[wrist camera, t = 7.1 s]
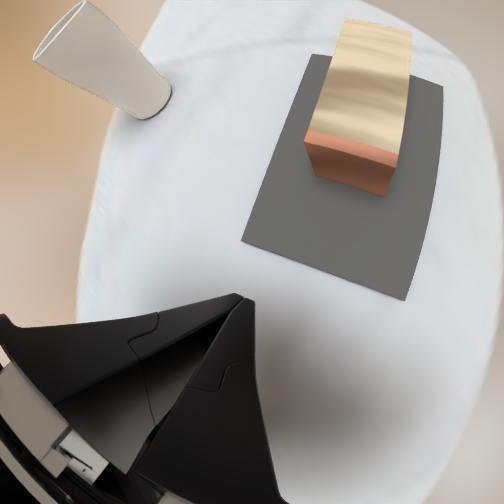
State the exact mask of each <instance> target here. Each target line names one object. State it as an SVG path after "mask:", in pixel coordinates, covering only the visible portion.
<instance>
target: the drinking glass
mask: <svg viewBox="0 0 504 504" xmlns="http://www.w3.org/2000/svg"><path fill="white" fill-rule="evenodd" d="M32 60H33V61H34V62H36V63H37V64H39V65H40V66H41V67H43V68H44V69H46V70H48V71H50V72H51V73H53V74H54V75H56V76H58V77H59V78H61V79H63V80H65V81H67V82H69V83H71V84H73V85H75V86H78V87H80V88H82V89H84V90H86V91H88V92H90V93H92V94H94V95H96V96H98V97H100V98H102V99H104V100H106V101H108V102H110V103H112V104H113V105H115V106H117V107H119V108H121V109H123V110H124V111H126V112H127V113H129V114H130V115H132V116H133V117H135V118H137V119H146V118H149V117H151V116H153V115H155V114H156V113H157V112H159V111H160V110H161V109H162V108H163V106H164V105H165V104H166V102H167V101H168V99H169V97H170V93H171V86H170V84H169V82H168V81H167V80H166V79H165V78H164V77H163V76H162V75H161V74H160V73H159V72H158V71H157V70H156V69H155V67H154V66H153V65H152V64H151V63H150V62H149V61H148V59H147V58H146V57H145V56H144V55H143V54H142V53H141V51H140V50H139V49H138V48H137V47H136V46H135V45H134V43H132V41H131V40H130V39H129V38H128V37H127V36H126V34H125V33H124V32H123V31H122V30H121V29H120V28H119V27H118V26H117V25H116V24H115V23H114V22H113V21H112V20H111V19H110V18H109V17H108V16H107V15H106V14H105V13H103V12H102V11H101V10H99V9H98V8H97V7H95V6H94V5H93V4H91V3H90V2H88V1H87V0H83V1H81V2H80V3H78V4H77V5H75V6H74V7H73V8H72V9H71V10H70V11H68V12H67V13H66V14H65V15H64V16H63V17H62V18H61V19H60V20H59V21H58V22H57V24H56V25H55V26H54V27H53V28H52V29H51V30H50V32H49V33H48V34H47V35H46V37H45V38H44V39H43V41H42V42H41V44H40V45H39V47H38V48H37V50H36V51H35V53H34V55H33V58H32Z"/></svg>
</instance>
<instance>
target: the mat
mask: <svg viewBox="0 0 504 504" xmlns="http://www.w3.org/2000/svg"><path fill="white" fill-rule="evenodd" d="M331 60H332V56H325V55H318V54H312V55H311V58H310V60H309V63H308V65H307V68H306V70H305V73H304V75H303V78H302V80H301V83H300V85H299V88H298V91H297V93H296V96H295V98H294V101H293V103H292V106H291V109H290V111H289V114H288V116H287V119H286V121H285V124H284V127H283V129H282V132H281V135H280V137H279V140H278V142H277V145H276V148H275V150H274V153H273V156H272V158H271V161H270V164H269V166H268V169H267V172H266V174H265V177H264V180H263V182H262V185H261V188H260V190H259V193H258V196H257V198H256V201H255V204H254V206H253V209H252V212H251V215H250V217H249V220H248V223H247V226H246V228H245V231H244V234H243V236H242V239H241V241H243V242H246V243H248V244H251V245H254V246H257V247H259V248H262V249H265V250H268V251H270V252H273V253H276V254H279V255H281V256H284V257H287V258H290V259H292V260H295V261H298V262H301V263H303V264H306V265H309V266H312V267H314V268H317V269H320V270H322V271H325V272H328V273H331V274H333V275H336V276H339V277H341V278H344V279H347V280H350V281H352V282H355V283H358V284H360V285H363V286H366V287H369V288H371V289H374V290H377V291H379V292H382V293H385V294H387V295H390V296H393V297H395V298H398V299H401V300H403V301H405V299H406V296H407V293H408V291H409V288H410V285H411V282H412V279H413V275H414V272H415V269H416V266H417V262H418V259H419V256H420V252H421V248H422V245H423V241H424V237H425V233H426V229H427V225H428V220H429V216H430V211H431V206H432V201H433V196H434V190H435V185H436V178H437V172H438V164H439V156H440V147H441V136H442V121H443V86H440V85H438V84H435V83H432V82H430V81H427V80H424V79H421V78H418V77H415V76H412V75H410V77H409V88H408V97H407V105H406V113H405V120H404V126H403V133H402V139H401V144H400V150H399V155H398V160H397V165H396V169H395V171H394V174H393V176H392V179H391V181H390V184H389V186H388V188H387V191H386V193H385V195H384V197H383V196H380V195H377V194H374V193H371V192H368V191H365V190H362V189H359V188H356V187H353V186H350V185H347V184H343V183H340V182H337V181H333V180H330V179H327V178H323V177H320V176H316V175H315V174H314V170H313V167H312V164H311V161H310V158H309V156H308V153H307V150H306V147H305V144H304V139H305V137H306V134H307V131H308V128H309V125H310V122H311V119H312V116H313V113H314V110H315V108H316V105H317V102H318V99H319V96H320V93H321V90H322V87H323V84H324V81H325V78H326V75H327V72H328V69H329V66H330V63H331Z"/></svg>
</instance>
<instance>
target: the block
mask: <svg viewBox="0 0 504 504" xmlns="http://www.w3.org/2000/svg"><path fill="white" fill-rule="evenodd" d="M411 38H412V32H408V31H405V30H401V29H398V28H394V27H390V26H385V25H381V24H376V23H371V22H366V21H361V20H355V19H348V18H345V21H344V24H343V27H342V30H341V33H340V36H339V39H338V42H337V45H336V48H335V51H334V54H333V57H332V60H331V63H330V66H329V69H328V72H327V75H326V78H325V81H324V84H323V87H322V90H321V93H320V96H319V99H318V102H317V105H316V108H315V110H314V113H313V116H312V119H311V122H310V125H309V128H308V131H307V134H306V137H305V139H304V144H305V147H306V150H307V153H308V156H309V158H310V161H311V164H312V167H313V170H314V174H315V175H316V176H320V177H323V178H327V179H330V180H333V181H337V182H340V183H343V184H347V185H350V186H353V187H356V188H359V189H362V190H365V191H368V192H371V193H374V194H377V195H380V196H383V197H384V195H385V193H386V191H387V188H388V186H389V184H390V181H391V179H392V176H393V174H394V171H395V169H396V165H397V160H398V155H399V150H400V144H401V139H402V133H403V126H404V120H405V113H406V105H407V97H408V88H409V77H410V63H411Z"/></svg>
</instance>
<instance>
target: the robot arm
mask: <svg viewBox="0 0 504 504" xmlns="http://www.w3.org/2000/svg"><path fill="white" fill-rule="evenodd" d="M0 345H1V347H2V348H3V350H4V352H5V353H6V354H7V356H8V358H9V359H10V360H11V362H10V363H9V364H7V366H6V367H4V368H3V366H2V365H1V363H0V504H289V503H288V502H286V501H285V500H284V499H283V498H282V497H281V495H280V493H279V489H278V485H277V480H276V476H275V471H274V467H273V462H272V457H271V453H270V448H269V443H268V438H267V434H266V429H265V424H264V419H263V414H262V409H261V404H260V399H259V394H258V388H257V381H256V360H255V301H253V300H250V299H248V298H244V297H243V296H241V295H238V294H236V293H232V294H228V295H225V296H221V297H217V298H213V299H209V300H205V301H201V302H197V303H193V304H189V305H185V306H181V307H177V308H173V309H169V310H165V311H161V312H159V314H158V312H155V313H151V314H146V315H141V316H136V317H130V318H123V319H115V320H107V321H98V322H89V323H79V324H68V325H58V326H44V327H31V328H21V327H17V326H15V325H14V324H13V323H12V322H11V321H10V319H9V318H8V317H7V316H6V315H5V314H0Z"/></svg>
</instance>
